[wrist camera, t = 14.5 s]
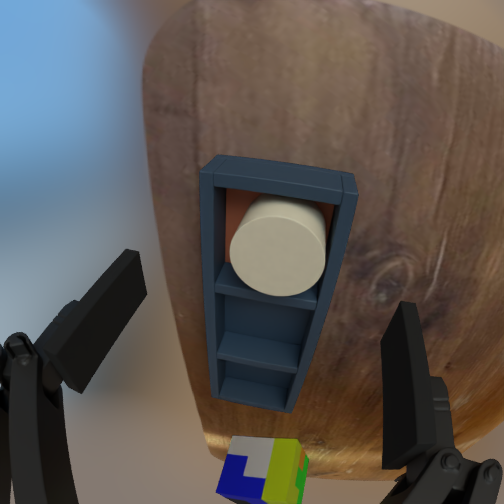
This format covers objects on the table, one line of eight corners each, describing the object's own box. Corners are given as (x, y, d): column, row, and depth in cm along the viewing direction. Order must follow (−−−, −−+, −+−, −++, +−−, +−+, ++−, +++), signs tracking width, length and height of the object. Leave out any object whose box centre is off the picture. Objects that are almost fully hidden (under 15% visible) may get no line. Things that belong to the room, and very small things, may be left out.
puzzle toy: (232, 435, 41) (215, 492, 33) (297, 438, 37) (285, 501, 29) (252, 456, 46) (240, 505, 37) (308, 459, 42) (299, 511, 34)
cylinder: (332, 196, 17) (334, 225, 14) (317, 266, 20) (315, 303, 17) (246, 183, 18) (230, 208, 15) (242, 253, 21) (228, 287, 18)
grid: (353, 173, 17) (359, 194, 14) (295, 388, 30) (291, 413, 27) (217, 154, 18) (198, 170, 15) (219, 373, 31) (211, 397, 28)
